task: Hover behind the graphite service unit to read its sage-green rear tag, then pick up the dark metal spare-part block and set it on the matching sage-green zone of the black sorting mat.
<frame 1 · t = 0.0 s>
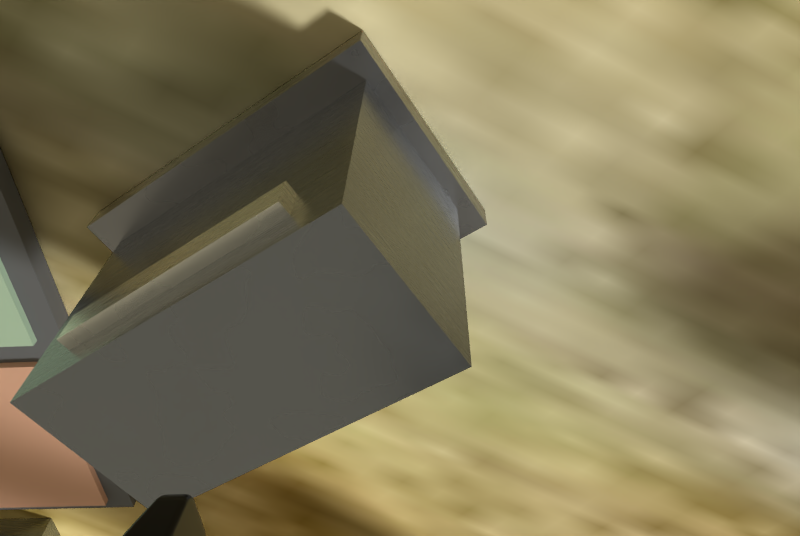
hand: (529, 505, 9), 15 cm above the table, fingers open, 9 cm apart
service unit: (289, 210, 24), on the table
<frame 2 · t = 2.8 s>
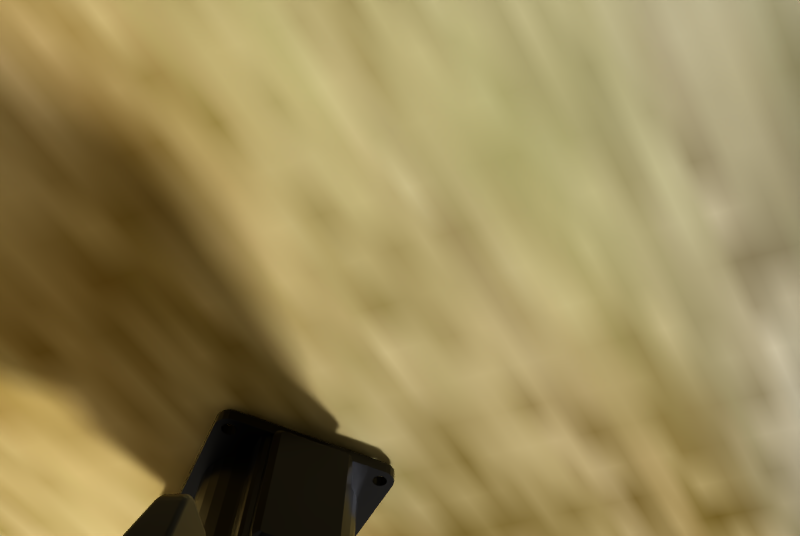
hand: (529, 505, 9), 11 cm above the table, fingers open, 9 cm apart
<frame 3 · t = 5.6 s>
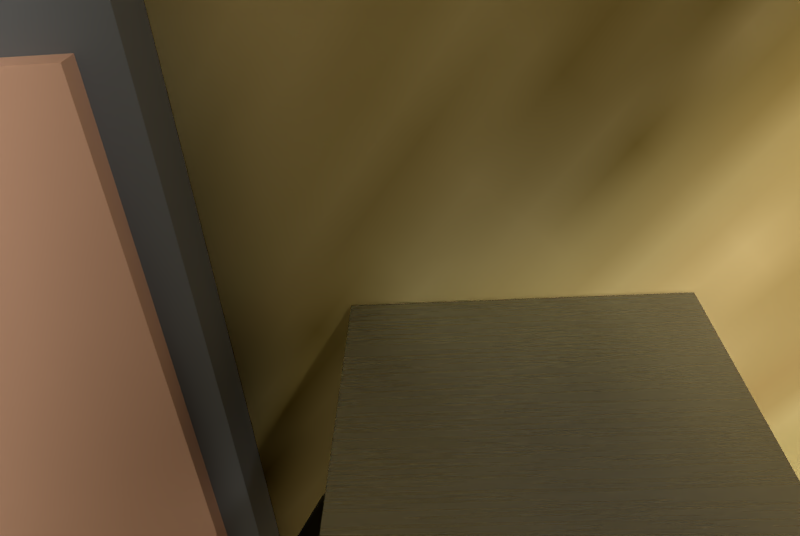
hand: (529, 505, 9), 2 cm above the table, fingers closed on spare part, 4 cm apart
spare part: (516, 420, 11), on the table, touching gripper
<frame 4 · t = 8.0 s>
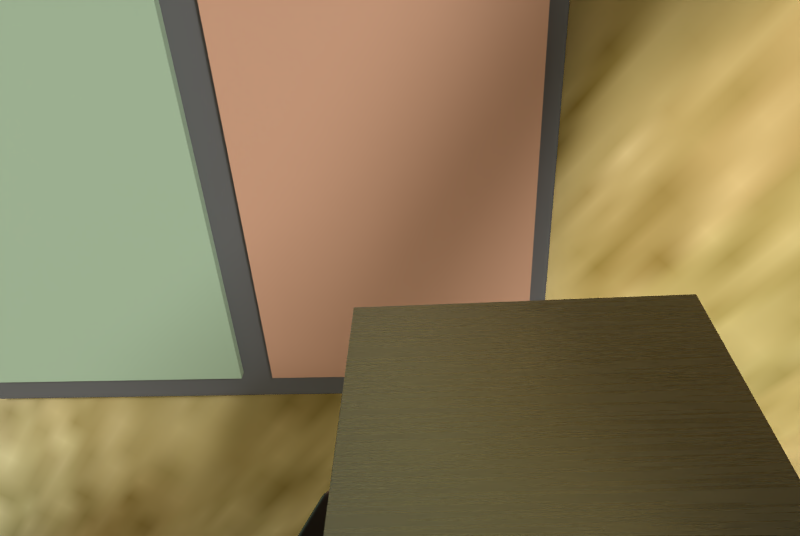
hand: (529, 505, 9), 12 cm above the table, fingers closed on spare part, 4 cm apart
sorting board: (224, 163, 20), on the table
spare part: (518, 422, 11), point 10 cm above the table, touching gripper
when the fingers open (4 cm above the table, at t = 10.6 s): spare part drops 2 cm, resting on sorting board.
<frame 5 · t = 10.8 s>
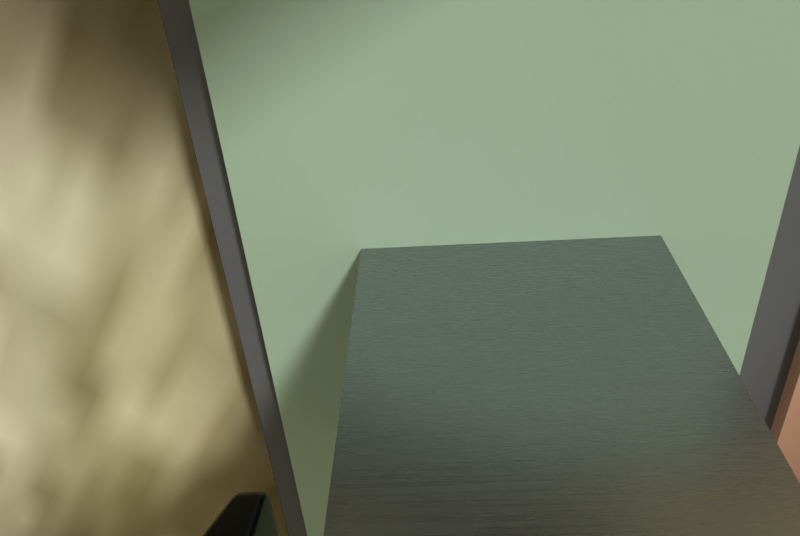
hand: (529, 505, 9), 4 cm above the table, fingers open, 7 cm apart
sorting board: (752, 304, 13), on the table
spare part: (506, 356, 12), point 1 cm above the table, touching sorting board
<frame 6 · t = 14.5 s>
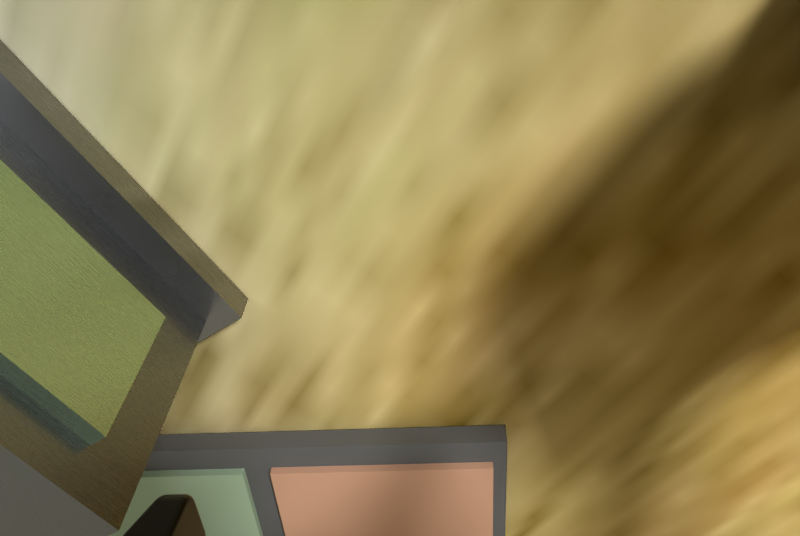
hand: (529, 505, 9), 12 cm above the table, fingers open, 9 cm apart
service unit: (39, 224, 21), on the table
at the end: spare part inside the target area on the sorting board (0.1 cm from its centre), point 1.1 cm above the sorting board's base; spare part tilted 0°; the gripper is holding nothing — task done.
